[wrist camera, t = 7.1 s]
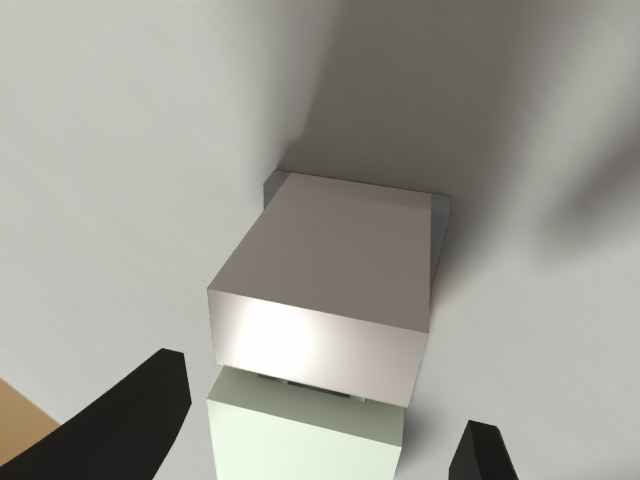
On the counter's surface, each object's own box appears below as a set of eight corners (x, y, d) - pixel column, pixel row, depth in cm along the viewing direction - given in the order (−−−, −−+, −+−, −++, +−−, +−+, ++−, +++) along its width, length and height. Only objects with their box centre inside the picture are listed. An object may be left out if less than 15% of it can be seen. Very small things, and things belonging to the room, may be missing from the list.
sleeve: (391, 393, 13) (377, 532, 10) (270, 365, 14) (218, 487, 11) (411, 310, 11) (401, 447, 8) (269, 281, 12) (205, 398, 9)
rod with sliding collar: (374, 495, 20) (356, 645, 16) (274, 468, 21) (230, 604, 16) (449, 196, 12) (459, 340, 7) (274, 169, 12) (181, 283, 8)
